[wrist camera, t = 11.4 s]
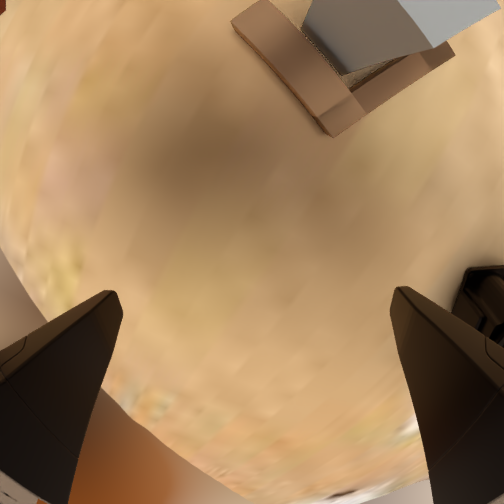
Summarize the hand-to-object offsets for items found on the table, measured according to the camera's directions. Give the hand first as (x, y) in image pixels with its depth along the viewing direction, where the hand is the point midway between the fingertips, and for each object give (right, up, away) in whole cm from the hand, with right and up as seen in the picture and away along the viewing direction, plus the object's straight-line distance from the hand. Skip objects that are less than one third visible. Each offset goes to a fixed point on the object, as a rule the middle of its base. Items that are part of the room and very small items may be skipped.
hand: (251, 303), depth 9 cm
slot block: (+6, +15, +6) cm, 17 cm away
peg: (+6, +15, +6) cm, 17 cm away
